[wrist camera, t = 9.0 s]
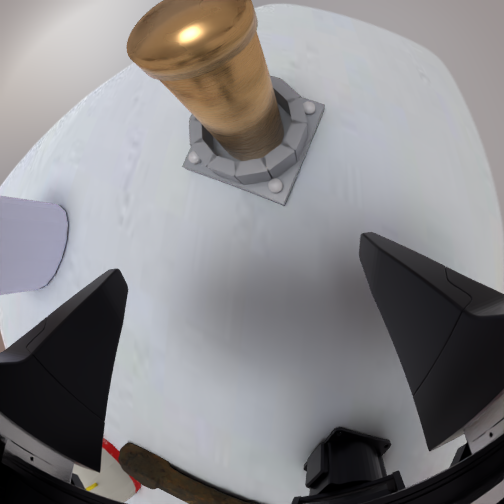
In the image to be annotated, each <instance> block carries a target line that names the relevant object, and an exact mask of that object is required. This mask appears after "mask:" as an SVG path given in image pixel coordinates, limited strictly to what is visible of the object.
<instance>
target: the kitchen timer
mask: <svg viewBox="0 0 504 504" xmlns="http://www.w3.org/2000/svg"><path fill="white" fill-rule="evenodd" d="M119 454H120V452H119V451H118V450H117V449H116V448H115V447H114V446H113V445H112V444H111V443H109V442H108V441H107V440H106V439H104V438H103V445H102V458H101V471H100V473H98V472H95V471H92V470H89V469H86V468H83V467H81V466H78V465H75V464H74V468H73V473H74V474H77V475H78V476H79V478H80V480H81V482H82V483H83V485H84V487H85V489H86V490H87V491H90V492H93V493H95V494H98V495H101V496H104V497H107V498H110V499H113V500H116V501H120V502H125V501H127V500H128V499H130V498H131V497H132V496H133V495H134V494H135V493H136V492H137V491H138V490H139V489H140V487H141V483H139V482H138V481H137V480H135V479H134V478H133V477H132V476H129V475H128V474H127V473H126V472H124V471H123V470H122V468H121V465H120V464H119V461H118V457H119Z"/></svg>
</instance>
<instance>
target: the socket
mask: <svg viewBox="0 0 504 504" xmlns="http://www.w3.org/2000/svg"><path fill="white" fill-rule="evenodd" d="M270 78H271V82H272V86H273V89H274V93H275V97H276V100H277V104H278V108H279V112H280V116H281V120H282V124H283V128H284V136H283V140H282V143H281V144H280V145H279V146H278V147H276V148H275V149H274V150H272V151H271V152H270V153H268V154H267V155H266V156H264V157H263V158H259V159H253V160H247V161H240V160H237V159H235V158H233V157H232V156H231V155H230V154H229V153H228V152H227V151H226V150H225V149H224V148H223V147H222V146H221V145H220V143H219V142H218V141H217V140H216V139H215V138H214V137H213V136H212V135H211V134H210V133H209V131H208V130H207V129H206V128H205V127H204V126H203V125H202V124H201V123H200V122H199V121H198V120H197V118H196V117H195V116H194V115H193V114H192V115H191V117H190V120H189V134H190V145H191V148H190V150H189V152H188V155H187V157H186V159H185V161H184V163H183V166H182V167H184V168H185V169H188V170H191V171H193V172H196V173H199V174H202V175H205V176H208V177H211V178H213V179H216V180H219V181H222V182H224V183H227V184H230V185H232V186H235V187H238V188H240V189H243V190H246V191H248V192H251V193H254V194H256V195H259V196H261V197H264V198H266V199H269V200H271V201H274V202H276V203H279V204H281V205H284V206H285V203H286V201H287V199H288V196H289V194H290V191H291V189H292V187H293V184H294V182H295V179H296V177H297V175H298V172H299V170H300V167H301V165H302V163H303V160H304V158H305V155H306V153H307V151H308V148H309V146H310V143H311V141H312V138H313V136H314V133H315V131H316V129H317V126H318V124H319V121H320V119H321V116H322V114H323V111H324V107H325V105H324V104H321V103H318V102H315V101H312V100H309V99H306V98H302V97H301V96H300V95H299V94H298V93H297V92H296V91H295V90H293V89H292V88H291V87H290V86H289V85H288V84H287V83H286V82H285V81H283V80H282V79H280V78H277V77H273V76H270Z"/></svg>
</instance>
